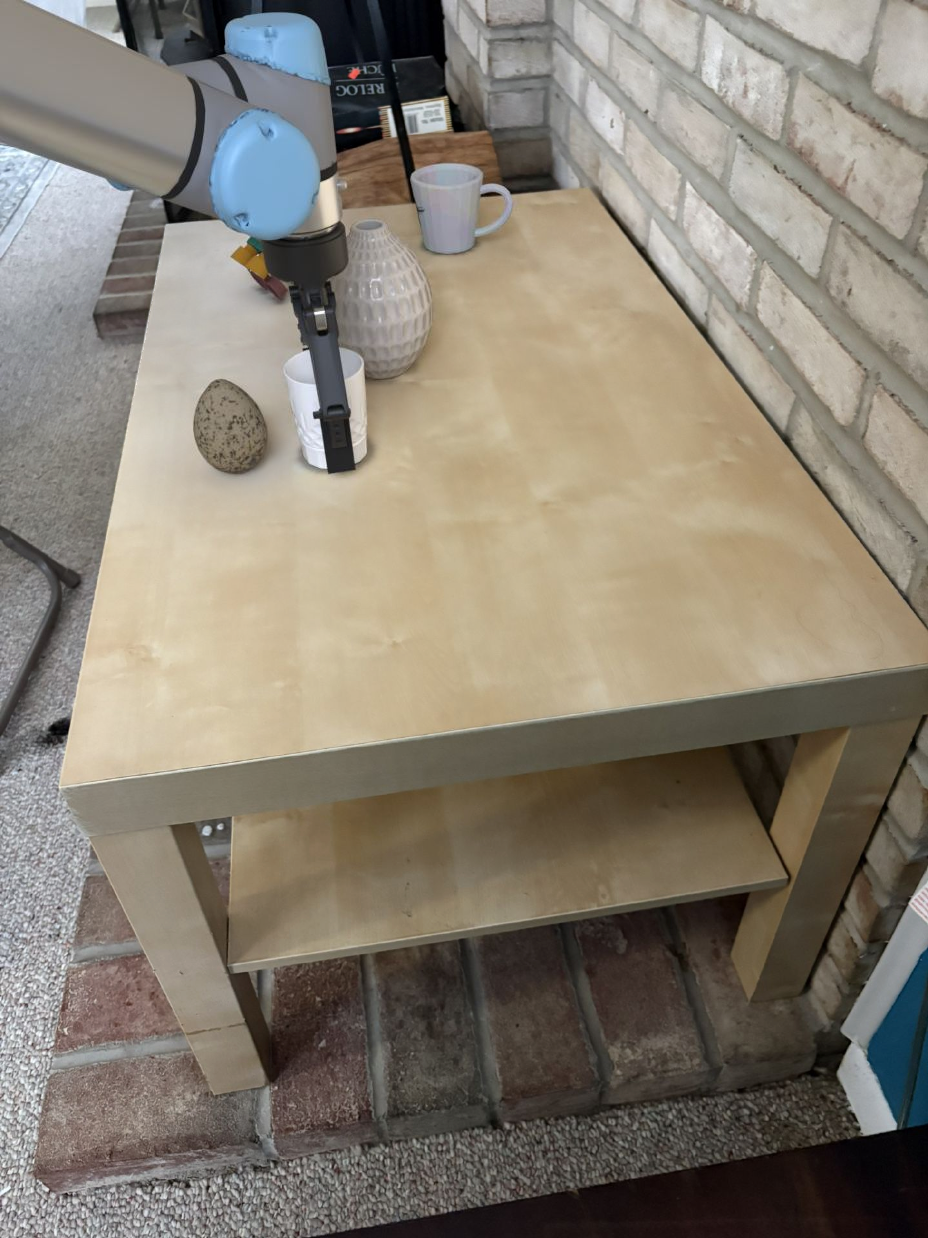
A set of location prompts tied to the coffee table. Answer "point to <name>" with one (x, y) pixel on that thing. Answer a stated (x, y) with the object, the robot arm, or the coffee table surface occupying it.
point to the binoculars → (258, 266)
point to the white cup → (307, 402)
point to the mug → (453, 206)
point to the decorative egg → (229, 428)
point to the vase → (382, 301)
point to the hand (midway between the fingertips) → (332, 435)
